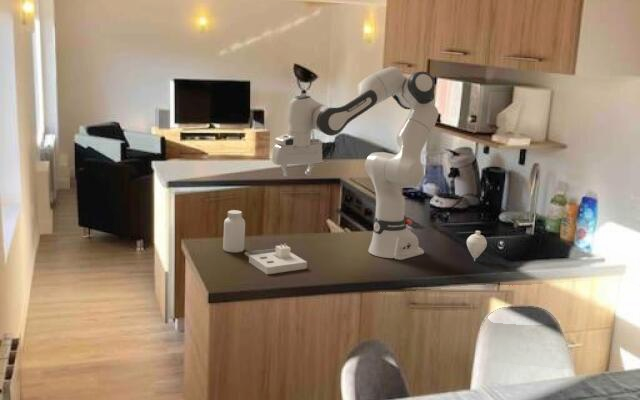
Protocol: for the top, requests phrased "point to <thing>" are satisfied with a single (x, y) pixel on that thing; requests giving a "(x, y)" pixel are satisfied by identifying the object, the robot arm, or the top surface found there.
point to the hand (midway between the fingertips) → (296, 175)
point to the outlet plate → (277, 263)
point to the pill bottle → (234, 232)
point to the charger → (282, 251)
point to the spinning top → (476, 244)
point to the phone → (259, 252)
